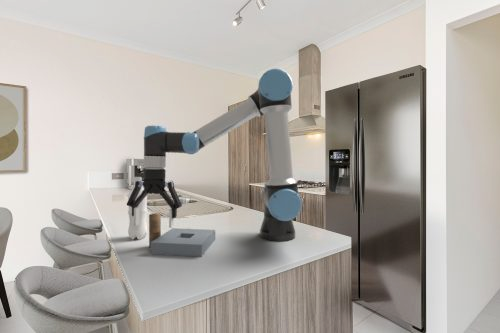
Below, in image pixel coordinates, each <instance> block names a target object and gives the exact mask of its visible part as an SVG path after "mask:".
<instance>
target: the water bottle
mask: <svg viewBox="0 0 500 333" xmlns="http://www.w3.org/2000/svg"><path fill="white" fill-rule="evenodd" d="M142 179H143V177H141V176H135V177H133V182H132V185H133V186H132V188H131V191H130V192H129V194H128V196H127V200H129V198H130V196H131V194H132V192H133V190H134V188H135V182H136V181H142ZM142 182H143V181H142ZM144 189H145V188H144V186H142V187H141V189H140V191H139V193H138V195H137V197H136V199H137V198H138V197H139V196H140V194H141V193H142V191H143V190H144ZM136 199H135V200H136ZM134 202H135V201H134ZM137 207H140V224H139V225H136V226H134V216H132V207H131V206H128V210H127V214H128V218H129V220H128V221H129V223H128V224H129V225H128V229H127V230H128V231H127V232H128V236H129V238H130V240H131V241H132V240H135V239H136V238H137V240H142V239H143V238H146V237H147V234H148V225H147V215H148V194H147V195H146V197H145V198H144V199H143V200H142V201H141V203H140V204H139V205H138V206H137Z"/></svg>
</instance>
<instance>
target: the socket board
mask: <svg viewBox="0 0 500 333" xmlns="http://www.w3.org/2000/svg"><path fill="white" fill-rule="evenodd" d="M215 241H216V229H204V228H203V229H199V228H178V227H177V228H176V227H172V228H170V229H169V230H168V231H166V232H164V233H163V234H161V236H160V237H158V238H157V239H155V240H153V241H152V242H151V248H150V255H161V254H163V255H164V256H165V255H166V256H181V257H182V256H185V257H200V258H201V257H203V255H205V253H206V252H207V251H208V249H209V248H210V247H211V246H212V244H213V243H215ZM163 255H162V256H163Z"/></svg>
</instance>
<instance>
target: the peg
mask: <svg viewBox="0 0 500 333" xmlns="http://www.w3.org/2000/svg"><path fill="white" fill-rule="evenodd" d="M148 215H149V216H148V244H149V245H148V248H149V249H151V242H152V241H153V240H155V239H157V238H158V237H160V236H161V235H162V234H161V232H162V231H161V230H162V228H161V226H162V224H161V222H162V221H161V219H162V218H161V216H162V215H161V213H159V212H158V213H155V212H154V213H150V214H148Z"/></svg>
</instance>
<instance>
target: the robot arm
mask: <svg viewBox="0 0 500 333" xmlns="http://www.w3.org/2000/svg"><path fill="white" fill-rule="evenodd" d="M293 83H294V82H293V79H292V77H291V75H290V74H289V73H288V72H287V71H286V70H284V69H282V68H271V69H269V70H266V71H265V72H264V73H263V74H262V75H261V76H260V78H259V80H258V88H257V89H256V90H255V92H253V93H252V94H250V95H249V96H248V97H247V100H245V101H243V102H242V103H240V104H238V105H236V106H235V107H233V108H231V109H230V110H228V111H226V112H225V113H223V114H222V115H219V116H218V117H216V118H214V119H212V120H211V121H210V122H208V123H206V124H204V125H202V126H201V127H199V128H197V129H196V130H194V131H193V132H189V131H187V132H178V131H177V132H175V131H174V132H173V131H172V132H171V131H169V132H168V131H167V127H165V126H162V125H147V126H146V127H144V132H143V133H144V134H143V135H144V136H143V168H144V170H143V181H136V182H135V188H134V190H133V192H132V194H131V196H130V198H129V200H128V199H127V200H128V201H127V202H126V206H127V207H129V206H131V207H132V216H134V226H136V225H139V224H140V207H137V206H138V205H139V204H140V203H141V201H142V200H143V199H144V198H145V197H146V195H147V196H148V195H151V194H152V195H153V194H154V195H160V196H161V197H162V198H163V199H164V201H165V202H166V204H167V205H168V206H169V207H170V209H169V211H168V212H169V213H168V217H169V218H168V219H169V220H168V224H169V225H168V228H169V229H172V228H174V227H175V219H176V218H177V216H178V214H177V212H178V211H177V210H178V209H179V208H181V207H183V204H182V201H181V200H180V197H179V195H178V193H177V191H176V189H175V184H174V183H175V182H174V181H169V182H166V169H165V168H166V164H167V163H166V157H167V153H172V154H173V153H174V154H175V153H178V154H188V155H195V154H197V153H198V152H199V151H200V150H201V149H203V148H205V146H208V145H209V144H211V143H213V142H215V141H216V140H218V139H219V138H221V137H223V136H225V135H226V134H229V133H230V132H231V131H233V130H235V129H237V128H239V127H241V126H242V125H243V124H245V123H248V122H249V121H250V120H252V119H254V118H256V117H259V118H260V117H262V116H264V124H265V136H266V150H267V163H268V175H269V179H268V180H267V181H266V182H265V183H264V187H263V192H264V194H263V195H264V199H263V208H264V209H263V210H264V211H263V220H262V223H261V226H260V229H259V236H260V237H261V238H263V239H265V240H269V241H275V242H276V241H279V242H283V241H285V242H286V241H290V240H293V239H295V238H296V229H295V225H294V222H293V220H294V219H296V218H297V216H298V215H299V214H300V212H301V211H302V206H303V205H302V204H303V203H302V199H301V197H300V195H299V188H298V181H297V180H296V179H295V178H294V176H293V175H294V174H293V163H292V162H293V161H292V151H291V137H290V125H289V124H290V123H289V111H290V110H292V92H293V88H294V87H293ZM142 186H143V189H144V190H143V191H142V193H141V194H140V196H139V197H138V198H137V199H136V197H137V195H138V193H139V191H140V189H141V187H142ZM165 188H167V190H168V192H169V193H170V195H169V193H168V192H167V190H166V189H165ZM135 199H136V200H135ZM134 201H135V202H134Z"/></svg>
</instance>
